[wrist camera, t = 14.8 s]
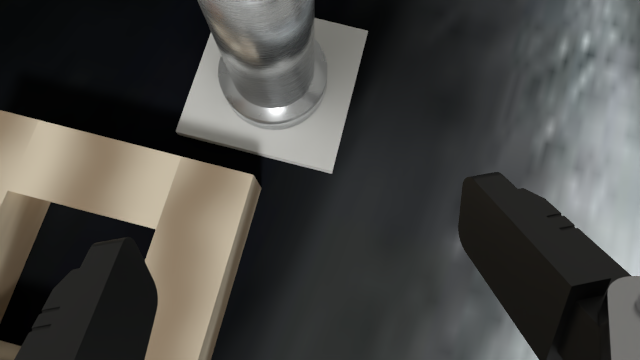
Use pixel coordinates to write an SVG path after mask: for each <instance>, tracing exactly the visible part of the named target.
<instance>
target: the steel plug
mask: <svg viewBox="0 0 640 360" xmlns="http://www.w3.org/2000/svg"><path fill="white" fill-rule="evenodd" d="M198 3H199V5H200V7H201V10H202V12H203V14H204V17H205V19H206V21H207V23H208V26H209V28H210V30H211V33H212V35H213V37H214V40H215V42H216V44H217V47H218V49H219V51H220V53H221V57H220V60H219V66H218V79H219V84H220V87H221V90H222V92H223V94H224V96H225V98H226V100H227V102H228V104H229V105H230V107H231V108H232V110H233V111H234V112H235V113H236V115H237V116H239V117H240V118H241V119H242V120H244V121H245V122H247V123H249V124H251V125H253V126H255V127H258V128H262V129H268V130H281V129H287V128H290V127H293V126H296V125H298V124H300V123H302V122H304V121H305V120H307V119H308V118H309V117H310V116H311V115H312V114H313V113H314V112H315V111H316V110H317V109H318V107H319V106H320V104H321V102H322V100H323V98H324V95H325V91H326V84H327V61H326V57H325V54H324V52H323V50H322V48H321V46H320V45H319V43H318V42H317V40H316V39H315V38H314V0H198Z"/></svg>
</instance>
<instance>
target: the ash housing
mask: <svg viewBox="0 0 640 360" xmlns="http://www.w3.org/2000/svg"><path fill="white" fill-rule="evenodd" d="M260 191H261V187H260V185H259V183H258V182H257V180H256V178H255V176H254V175H252V174H248V173H244V172H240V171H236V170H232V169H228V168H225V167H221V166H217V165H213V164H209V163H205V162H201V161H197V160H193V159H189V158H185V157H182V156H178V155H174V154H170V153H166V152H162V151H158V150H154V149H150V148H146V147H142V146H138V145H135V144H131V143H127V142H123V141H119V140H115V139H111V138H107V137H103V136H99V135H95V134H91V133H88V132H84V131H80V130H76V129H72V128H68V127H64V126H60V125H56V124H52V123H48V122H45V121H41V120H37V119H33V118H29V117H25V116H21V115H17V114H13V113H9V112H5V111H1V110H0V323H1V320H2V318H3V316H4V313H5V311H6V308H7V306H8V304H9V301H10V299H11V296H12V294H13V291H14V289H15V287H16V284H17V282H18V279H19V277H20V275H21V272H22V270H23V267H24V265H25V263H26V260H27V258H28V255H29V253H30V251H31V248H32V246H33V243H34V241H35V239H36V236H37V234H38V231H39V229H40V227H41V224H42V222H43V219H44V217H45V215H46V212H47V210H48V207H49V205H50V203H51V202H53V203H57V204H61V205H65V206H69V207H73V208H76V209H80V210H84V211H88V212H92V213H96V214H99V215H103V216H107V217H111V218H115V219H119V220H122V221H126V222H130V223H134V224H138V225H142V226H145V227H149V228H153V229H156V231H155V234H154V236H153V239H152V242H151V245H150V248H149V251H148V254H147V257H146V259H145V263H146V265H147V267H148V269H149V271H150V273H151V276H152V278H153V280H154V282H155V285H156V288H157V294H158V306H157V311H156V316H155V320H154V324H153V328H152V332H151V336H150V340H149V344H148V348H147V352H146V356H145V360H211V357H212V354H213V350H214V347H215V343H216V340H217V337H218V333H219V330H220V327H221V323H222V320H223V316H224V313H225V310H226V306H227V303H228V299H229V296H230V293H231V289H232V286H233V282H234V279H235V276H236V272H237V269H238V265H239V262H240V259H241V255H242V252H243V248H244V245H245V242H246V238H247V235H248V231H249V228H250V225H251V221H252V218H253V214H254V211H255V208H256V204H257V201H258V198H259V194H260ZM20 348H21V346H18V345H15V344H11V343H7V342H4V341H0V360H14V359H15V357H16V355H17V353H18V352H19V350H20Z"/></svg>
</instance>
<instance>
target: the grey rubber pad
mask: <svg viewBox="0 0 640 360" xmlns="http://www.w3.org/2000/svg"><path fill="white" fill-rule="evenodd" d="M367 33H368V31H367V30H362V29H358V28H354V27H350V26H346V25H342V24H338V23H334V22H330V21H326V20H321V19H317V18H314V38H315V39H316V40H317V42H318V43H319V45H320V46H321V48H322V50H323V52H324V54H325V57H326V61H327V84H326V91H325V95H324V98H323V100H322V102H321V104H320V106H319V107H318V109H317V110H316V111H315V112H314V113H313V114H312V115H311V116H310V117H309V118H308V119H307V120H305V121H304V122H302V123H300V124H298V125H296V126H293V127H290V128H287V129H281V130H268V129H262V128H258V127H255V126H253V125H251V124H249V123H247V122H245V121H244V120H242V119H241V118H240V117H239V116H237V115H236V113H235V112H234V111H233V110H232V108H231V107H230V105H229V104H228V102H227V100H226V98H225V96H224V94H223V92H222V90H221V87H220V84H219V79H218V66H219V60H220V57H221V53H220V51H219V49H218V47H217V44H216V42H215V40H214V37H213V35H212V33H211V34H210V37H209V39H208V42H207V45H206V48H205V51H204V53H203V56H202V59H201V62H200V65H199V67H198V70H197V73H196V76H195V79H194V81H193V84H192V87H191V90H190V93H189V95H188V98H187V101H186V104H185V107H184V109H183V112H182V115H181V118H180V121H179V123H178V126H177V129H176V133H177V134H178V135H181V136H185V137H189V138H193V139H197V140H201V141H205V142H209V143H213V144H217V145H221V146H225V147H229V148H233V149H237V150H240V151H244V152H248V153H252V154H256V155H260V156H264V157H268V158H272V159H276V160H280V161H284V162H288V163H292V164H296V165H300V166H303V167H307V168H311V169H315V170H319V171H323V172H327V173H331V174H332V171H333V167H334V163H335V159H336V155H337V151H338V147H339V143H340V139H341V135H342V132H343V128H344V124H345V120H346V116H347V112H348V108H349V104H350V100H351V96H352V92H353V88H354V84H355V81H356V77H357V73H358V69H359V65H360V61H361V57H362V53H363V49H364V45H365V41H366V37H367Z"/></svg>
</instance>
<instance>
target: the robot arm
mask: <svg viewBox="0 0 640 360" xmlns="http://www.w3.org/2000/svg"><path fill="white" fill-rule="evenodd" d="M458 231H459V237H460V241H461V244H462V246H463V248H464V250H465V252H466V253H467V255H468V256H469V258H470V259H471V260H472V262H473V263H474V265H475V266H476V268H477V269H478V271H479V272H480V274H481V275H482V277H483V278H484V280H485V281H486V282H487V284H488V285H489V287H490V288H491V290H492V291H493V293H494V294H495V296H496V297H497V299H498V300H499V301H500V303H501V304H502V306H503V307H504V309H505V310H506V312H507V313H508V315H509V316H510V318H511V319H512V321H513V322H514V323H515V325H516V326H517V328H518V329H519V331H520V332H521V334H522V335H523V337H524V338H525V340H526V341H527V343H528V344H529V345H530V347H531V348H532V350H533V351H534V353H535V354H536V356H537V357H538V359H539V360H640V276H631V275H630V274H629V273H628V272H627V271H625V270H624V269H623V268H622V267H621V266H620V265H619V264H618V263H616V262H615V261H614V260H613V259H612V258H611V257H610V256H609V255H608V254H606V253H605V252H604V251H603V250H602V249H601V248H600V247H599V246H597V245H596V244H595V243H594V242H593V241H592V240H591V239H590V238H588V237H587V236H586V235H585V234H584V233H583V232H582V231H581V230H580V229H578V228H575V227H574V224H573V223H572V222H571V221H569V220H568V219H567V218H566V217H565V216H561V213H560V212H559V211H558V210H557V209H556V208H555V207H554V206H553V205H551V204H550V203H549V202H548V201H547V200H546V199H545V198H542V197H540V196H538V195H536V194H534V193H532V192H530V191H528V190H526V189H524V188H521V189H517V188H516V187H515V186H514V185H513V184H512V183H511V182H510V181H509V180H508V179H507V178H505V177H504V176H503V175H502V174H501V173H499V172H494V173H488V174H483V175H477V176H472V177H467V178H466V179H465V180H464V182H463V187H462V196H461V206H460V215H459V225H458ZM157 306H158V294H157V288H156V285H155V282H154V280H153V278H152V276H151V273H150V271H149V269H148V267H147V265H146V263H145V261H144V259H143V257H142V255H141V253H140V251H139V249H138V247H137V245H136V243H135V241H134V240H133V239H132V238H130V237H127V238H121V239H116V240H110V241H104V242H99V243H95V244H93V245H92V246H91V248H90V250H89V251H88V253H87V255H86V257H85V259H84V261H83V263H82V265H81V267H80V269H74V270H72V271H71V272H70V273H69V274H68V275H67V276H66V277H65V278H64V279H63V280H62V281H61V282H60V283H59V284H58V285H57V286H56V287H55V288H54V289H53V290H52V292H51V294H50V296H49V298H48V299H47V301H46V303H45V305H44V307H43V308H42V314H39V316H38V317H37V319H36V321H35V323H34V325H33V326H32V332H29V334H28V335H27V337H26V339H25V341H24V343H23V344H22V346H21V348H20V350H19V352H18V353H17V355H16V357H15V359H14V360H145V356H146V352H147V348H148V344H149V340H150V336H151V332H152V328H153V324H154V320H155V316H156V311H157Z"/></svg>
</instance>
